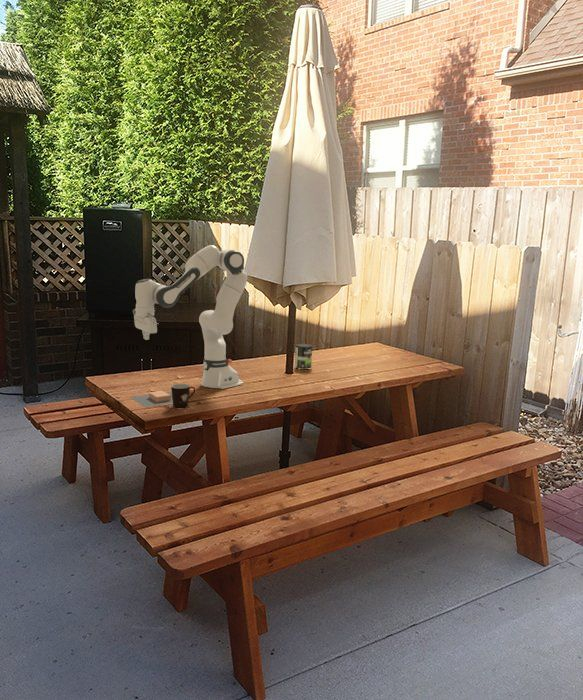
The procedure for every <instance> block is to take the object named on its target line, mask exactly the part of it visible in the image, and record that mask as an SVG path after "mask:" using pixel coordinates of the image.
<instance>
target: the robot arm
mask: <svg viewBox="0 0 583 700" xmlns="http://www.w3.org/2000/svg"><path fill="white" fill-rule="evenodd" d="M214 267H216V268H217V269H219V270H221V271H224V272H226V275H225V280H224V281H223V283H222V285H221V286H220V289H219V291H218V293H217V295H216V298H215V301H216V304H215V308H214V309H209V310H208V309H207V310H204V311H202V312H201V313H200V315H199V318H198V321H199V324H200V327H201V332H202V337H203V342H204V358H203V374H202V380H201V383H200V385H201V386H202V387H204V388H211V389H222V390H224V389H228V388H232V387H236V386H237V387H238V386H242V385H244V382H243V381H242V380H241V379H240V377H239V373H238V371H237V370H236V369H234V368H233V367H232V366H231V365H230V364H232V363H233V361H232V360H233V359H229V358H226V354H227V351H226V350H227V349H226V348H227V344H226V341H225V339H224V336H225V335H228V334H230V333H232V331H233V329H234V322H233V319H234V314H235V310H236V307H237V304H238V303H239V300H240V299H241V297H242V295H243V292H244V290H245V287H246V284H247V281H248V274H247V273H246V272H245V271H244V270H245V258H244V255H243V254H242V253H241V252H240V251H239V250H237V249H226V250H225V249H224V250H220V249H219V248H218V247H217V246H215V245H213V244H209V245H207V246H205V247H203V248H202V249H200V250H198V251H197V252H195V253H194V254H193V255H191V257H190V258H189V259H187V261H186V262H185V266H184V273H183V275H182V276H180V277H179V278H178V279H177V280H176V281H174V283H172V284H171V285H168V286H167V285H165V284H160V283H159V282H156V281H154V280H153V279H151V278H143V279H140V280H137V282H136V283H135V289H134V293H135V296H134V297H135V300H136V303H135V308H134V309H133V310H132V313H133V319H134V321H133V323H134V327H135V328H136V329H138V330H141V332H142V333H141V334H142V336H143V339H144V340H145V341H147V340H148V341H149V340H150V335H151V334H157V332H158V326H157V325H158V323H157V319H156V317H154V316H155V304H158V305H159V306H160V307H162V308H165V309H169V308H172V307H174V306H175V305H176V304H177V302H178V300H179V298H180V297H181V296H182V295H183V293H184V292H185V291H186V290H188V289H189V288H190V287H191V286H192V285H193V284H194V283H196V282H197V281H198V280H199V279H200V278H202V277H203V276H204V275H205V274H207V273H208V272H210V270H212V269H214Z"/></svg>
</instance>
